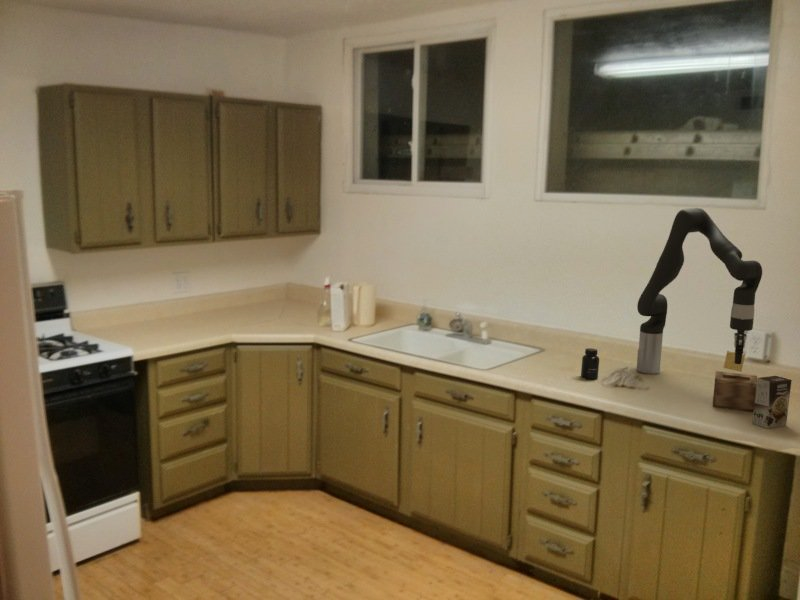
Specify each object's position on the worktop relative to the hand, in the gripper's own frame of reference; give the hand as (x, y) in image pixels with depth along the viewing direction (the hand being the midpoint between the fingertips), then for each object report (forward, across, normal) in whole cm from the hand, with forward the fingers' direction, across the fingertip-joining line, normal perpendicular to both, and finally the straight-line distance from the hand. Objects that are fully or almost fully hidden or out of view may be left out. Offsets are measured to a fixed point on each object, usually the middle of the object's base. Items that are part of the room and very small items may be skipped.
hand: (737, 362), depth 265 cm
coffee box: (+16, +18, +11) cm, 27 cm away
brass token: (+3, 0, -2) cm, 3 cm away
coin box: (+16, 0, 0) cm, 16 cm away
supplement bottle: (+16, -12, -54) cm, 58 cm away
